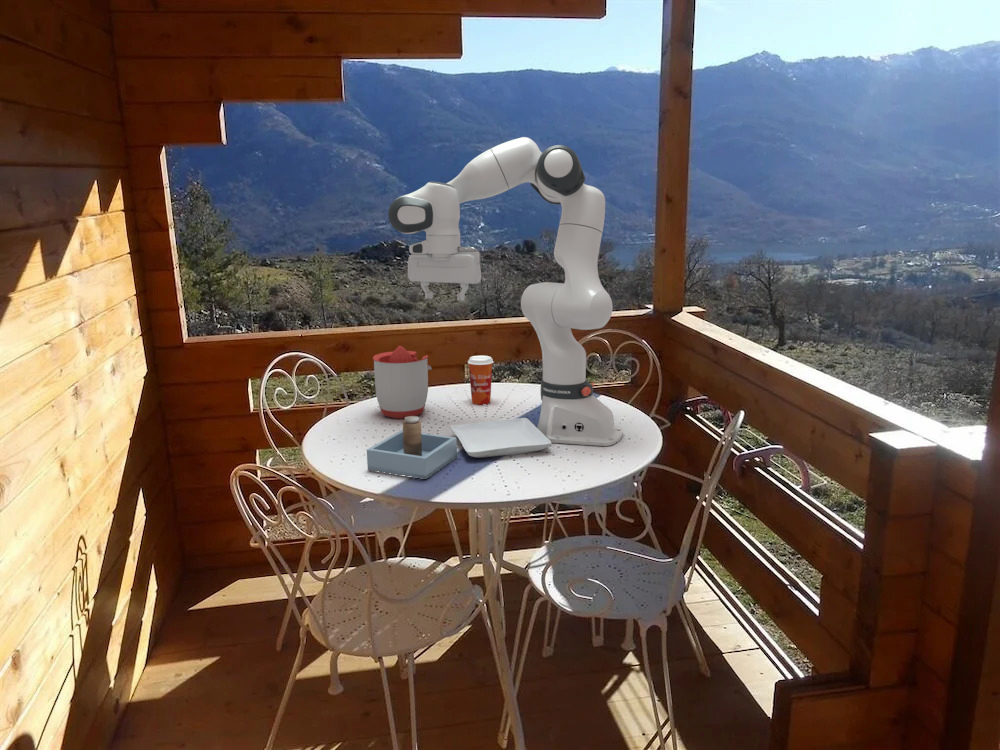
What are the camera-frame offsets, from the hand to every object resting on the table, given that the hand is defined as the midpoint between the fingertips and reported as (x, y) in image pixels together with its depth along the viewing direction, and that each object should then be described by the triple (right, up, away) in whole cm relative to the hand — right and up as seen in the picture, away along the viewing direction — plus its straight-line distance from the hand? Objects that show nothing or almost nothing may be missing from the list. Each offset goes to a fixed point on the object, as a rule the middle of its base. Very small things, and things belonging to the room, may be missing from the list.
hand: (444, 299), depth 180 cm
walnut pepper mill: (-6, -40, -23) cm, 46 cm away
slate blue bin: (-6, -41, -22) cm, 47 cm away
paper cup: (+9, -29, +28) cm, 41 cm away
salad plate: (+14, -38, -9) cm, 42 cm away
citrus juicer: (-13, -31, +18) cm, 38 cm away
